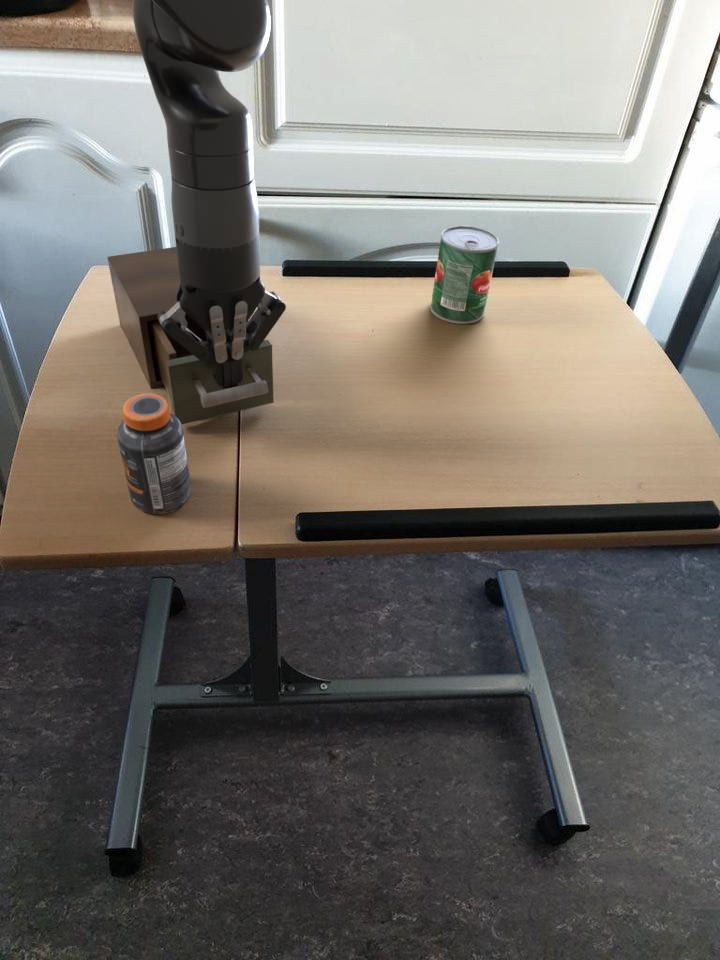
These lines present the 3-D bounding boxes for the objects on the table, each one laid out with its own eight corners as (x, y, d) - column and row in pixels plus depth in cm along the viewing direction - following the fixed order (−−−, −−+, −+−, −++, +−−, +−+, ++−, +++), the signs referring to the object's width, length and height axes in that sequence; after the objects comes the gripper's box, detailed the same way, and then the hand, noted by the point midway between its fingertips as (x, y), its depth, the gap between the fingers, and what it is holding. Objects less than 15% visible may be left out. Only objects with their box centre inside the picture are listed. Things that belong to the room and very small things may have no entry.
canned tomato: (427, 296, 105) (437, 223, 97) (478, 297, 105) (493, 226, 98) (434, 323, 99) (445, 249, 92) (488, 325, 100) (504, 251, 92)
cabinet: (251, 366, 88) (247, 297, 82) (150, 388, 84) (138, 316, 77) (211, 308, 98) (205, 242, 92) (119, 324, 94) (107, 256, 87)
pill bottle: (125, 483, 72) (105, 392, 64) (183, 469, 74) (170, 380, 66) (137, 523, 68) (118, 431, 60) (198, 507, 70) (186, 417, 62)
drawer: (287, 424, 79) (287, 365, 74) (188, 449, 75) (180, 389, 69) (231, 340, 91) (227, 284, 86) (143, 357, 87) (133, 300, 81)
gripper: (270, 202, 68) (273, 355, 80) (132, 219, 63) (157, 379, 75) (301, 234, 63) (299, 391, 75) (154, 254, 58) (177, 420, 70)
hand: (228, 385), depth 75 cm, fingers closed
